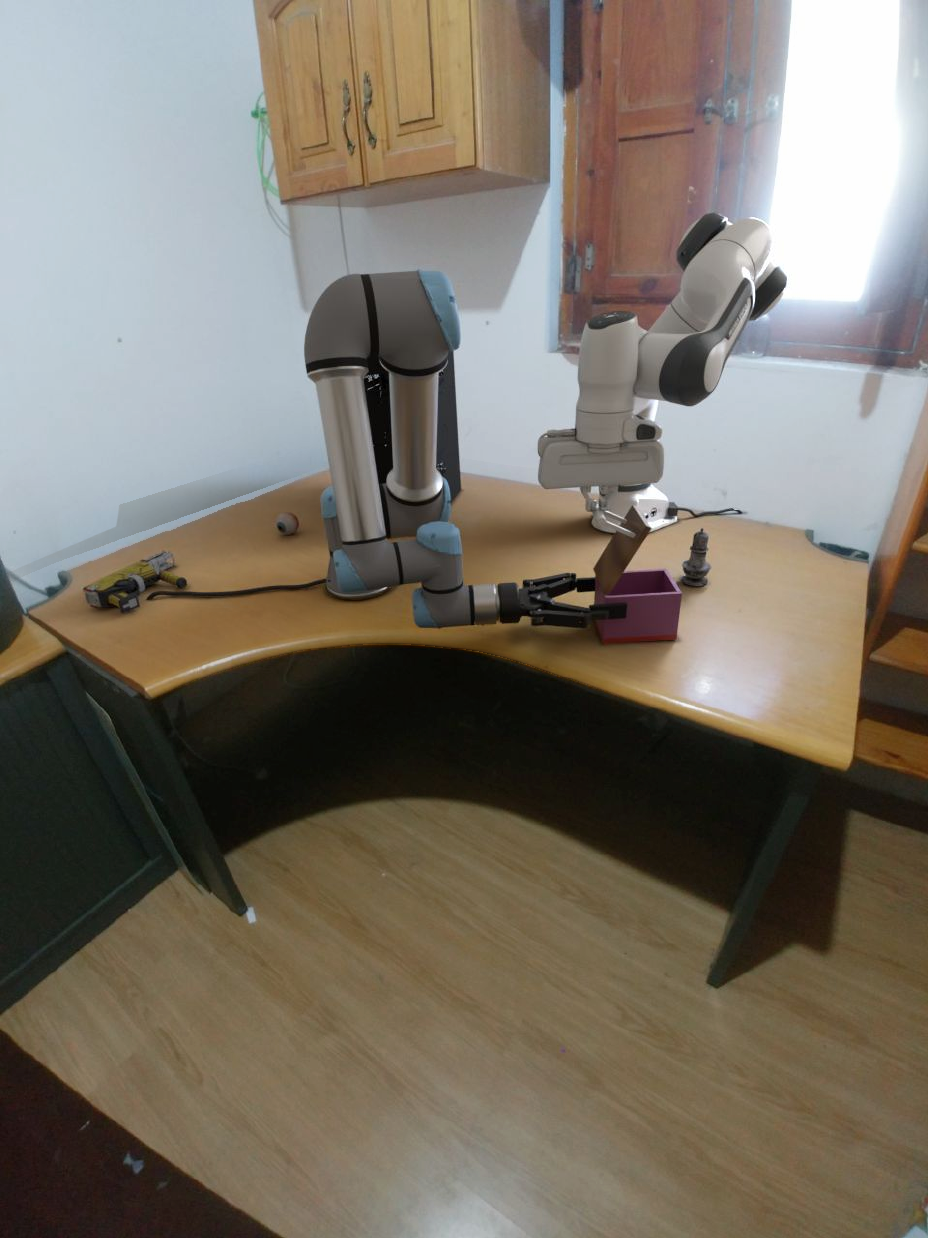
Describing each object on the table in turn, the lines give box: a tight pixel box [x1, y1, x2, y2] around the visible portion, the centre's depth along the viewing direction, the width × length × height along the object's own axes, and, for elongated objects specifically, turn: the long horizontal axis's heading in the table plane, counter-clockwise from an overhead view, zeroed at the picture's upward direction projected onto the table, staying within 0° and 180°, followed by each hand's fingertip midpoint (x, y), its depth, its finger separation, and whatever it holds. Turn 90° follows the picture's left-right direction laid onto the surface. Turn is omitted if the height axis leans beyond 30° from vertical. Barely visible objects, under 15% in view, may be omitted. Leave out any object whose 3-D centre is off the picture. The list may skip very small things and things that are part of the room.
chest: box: [593, 568, 683, 644], centre depth 112 cm, size 13×10×10 cm
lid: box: [591, 504, 652, 595], centre depth 105 cm, size 14×10×8 cm
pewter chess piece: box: [681, 527, 712, 587], centre depth 126 cm, size 6×6×12 cm
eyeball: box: [275, 511, 300, 536], centre depth 163 cm, size 6×6×6 cm
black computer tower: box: [363, 350, 462, 505], centre depth 166 cm, size 38×20×45 cm, turn 167°
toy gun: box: [82, 550, 188, 615], centre depth 138 cm, size 5×24×15 cm
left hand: (618, 596), depth 111 cm, fingers closed on chest, 10 cm apart
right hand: (597, 510), depth 102 cm, fingers closed, pressing on lid
